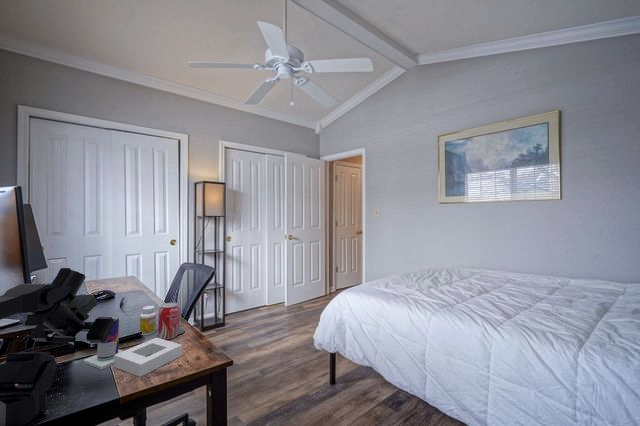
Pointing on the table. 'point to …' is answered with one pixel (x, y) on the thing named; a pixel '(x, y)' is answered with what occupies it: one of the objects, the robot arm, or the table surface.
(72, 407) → the table surface
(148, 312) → the supplement bottle
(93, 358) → the pad
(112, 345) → the energy drink
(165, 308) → the soda can
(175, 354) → the well board
